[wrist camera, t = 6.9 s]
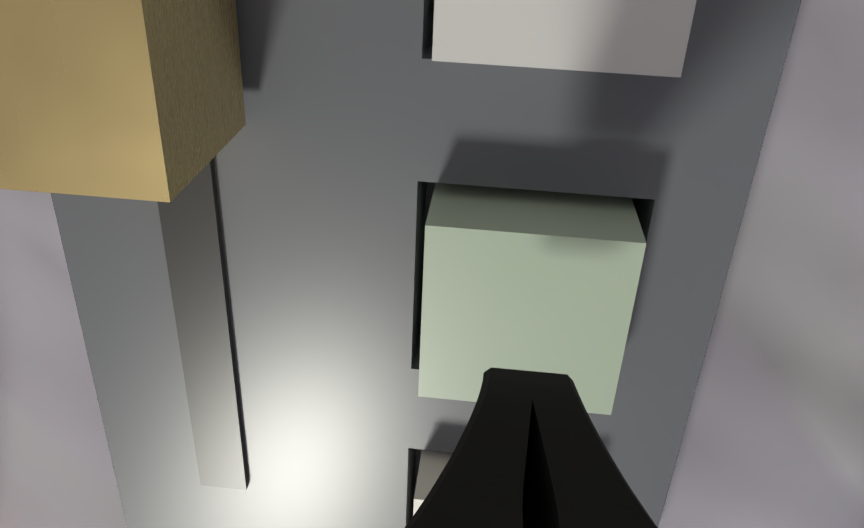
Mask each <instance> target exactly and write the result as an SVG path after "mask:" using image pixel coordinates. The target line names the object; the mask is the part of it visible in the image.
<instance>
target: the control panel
mask: <svg viewBox="0 0 864 528" xmlns="http://www.w3.org/2000/svg"><path fill="white" fill-rule="evenodd" d="M235 1H236V13H237V25H238V37H239V49H240V61H241V73H242V85H243V97H244V109H245V120H246V125H245V126H244V127H243V128H242V129H241V130H240V131H239V132H238V133H237V134H236V135H235V136H234V137H233V138H232V139H231V141H230V142H229V143H228V144H227V145H226V146H225V147H224V148H223V149H222V150H221V151H220V152H219V153H218V154H217V155H216V156H215V157H214V158H213V159H212V160H211V161H210V162H209V163H208V164H207V165H206V166H205V167H204V168H203V169H202V170H201V171H200V172H199V173H198V174H197V175H196V176H195V178H194V179H193V180H192V181H191V182H190V183H189V184H188V185H187V186H186V187H185V188H184V189H183V190H182V191H181V192H180V193H179V194H178V195H177V196H176V197H175V198H174V199H173V200H172V201H171V202H158V201H146V200H133V199H121V198H109V197H97V196H84V195H72V194H60V193H51V196H52V201H53V205H54V209H55V214H56V218H57V222H58V227H59V231H60V236H61V240H62V244H63V249H64V253H65V258H66V262H67V266H68V271H69V275H70V280H71V284H72V288H73V293H74V297H75V301H76V306H77V310H78V315H79V319H80V323H81V328H82V332H83V337H84V341H85V345H86V350H87V354H88V358H89V363H90V367H91V372H92V376H93V380H94V385H95V389H96V394H97V398H98V402H99V407H100V411H101V416H102V420H103V424H104V429H105V433H106V437H107V442H108V446H109V451H110V455H111V459H112V464H113V468H114V473H115V477H116V481H117V486H118V490H119V494H120V499H121V503H122V508H123V512H124V516H125V521H126V525H127V528H405V526H406V525H407V524H408V522H409V521H410V520H411V518H412V517H413V508H414V495H415V489H416V482H417V476H418V470H419V463H420V457H421V451H422V450H432V451H441V452H451V453H453V452H454V450H455V448H456V446H457V444H458V442H459V440H460V438H461V436H462V434H463V432H464V430H465V428H466V426H467V424H468V421H469V419H470V417H471V414H472V412H473V409H474V407H475V405H476V402H471V401H460V400H450V399H440V398H429V397H419V396H418V386H419V362H420V338H421V313H422V289H423V265H424V241H425V224H426V220H427V216H428V211H429V207H430V203H431V199H432V195H433V191H434V187H435V183H447V184H460V185H472V186H485V187H498V188H511V189H524V190H537V191H550V192H562V193H575V194H588V195H601V196H614V197H627V198H632V200H633V204H634V207H635V210H636V213H637V216H638V219H639V222H640V225H641V228H642V231H643V234H644V237H645V240H646V248H645V253H644V258H643V263H642V267H641V272H640V277H639V282H638V287H637V292H636V297H635V301H634V306H633V311H632V316H631V321H630V326H629V331H628V335H627V340H626V345H625V350H624V355H623V360H622V364H621V369H620V374H619V379H618V384H617V389H616V394H615V398H614V403H613V408H612V413H611V415H605V414H595V413H588V415H589V417H590V419H591V421H592V423H593V425H594V427H595V428H596V430H597V432H598V434H599V436H600V438H601V440H602V441H603V443H604V445H605V447H606V449H607V450H608V452H609V454H610V455H611V457H612V459H613V460H614V462H615V464H616V465H617V467H618V469H619V470H620V472H621V474H622V475H623V477H624V479H625V480H626V482H627V483H628V485H629V486H630V488H631V490H632V491H633V493H634V494H635V496H636V497H637V499H638V500H639V501H640V503H641V504H642V506H643V507H644V509H645V510H646V512H647V513H648V515H649V516H650V518H651V519H652V520H653V522H654V523H655V524H656V526H657V527H658V525H659V522H660V518H661V514H662V511H663V507H664V503H665V500H666V496H667V492H668V489H669V485H670V481H671V478H672V474H673V470H674V467H675V463H676V459H677V456H678V452H679V448H680V445H681V441H682V437H683V433H684V430H685V426H686V422H687V419H688V415H689V411H690V408H691V404H692V400H693V397H694V393H695V389H696V386H697V382H698V378H699V375H700V371H701V367H702V364H703V360H704V356H705V353H706V349H707V345H708V342H709V338H710V334H711V331H712V327H713V323H714V320H715V316H716V312H717V309H718V305H719V301H720V298H721V294H722V290H723V287H724V283H725V279H726V276H727V272H728V268H729V265H730V261H731V257H732V254H733V250H734V246H735V242H736V239H737V235H738V231H739V228H740V224H741V220H742V217H743V213H744V209H745V206H746V202H747V198H748V195H749V191H750V187H751V184H752V180H753V176H754V173H755V169H756V165H757V162H758V158H759V154H760V151H761V147H762V143H763V140H764V136H765V132H766V129H767V125H768V121H769V118H770V114H771V110H772V107H773V103H774V99H775V96H776V92H777V88H778V85H779V81H780V77H781V74H782V70H783V66H784V63H785V59H786V55H787V51H788V48H789V44H790V40H791V37H792V33H793V29H794V26H795V22H796V18H797V15H798V11H799V7H800V4H801V0H697V1H696V6H695V11H694V15H693V20H692V25H691V30H690V35H689V40H688V44H687V49H686V54H685V59H684V64H683V69H682V74H681V78H680V77H665V76H650V75H635V74H620V73H605V72H590V71H575V70H560V69H546V68H531V67H516V66H501V65H486V64H471V63H456V62H441V61H432V46H433V22H434V0H235Z"/></svg>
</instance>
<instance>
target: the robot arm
mask: <svg viewBox="0 0 864 528" xmlns="http://www.w3.org/2000/svg"><path fill="white" fill-rule="evenodd" d="M405 528H658V527H657V526H656V524H655V523H654V522H653V520H652V519H651V518H650V516H649V515H648V513H647V512H646V510H645V509H644V507H643V506H642V504H641V503H640V501H639V500H638V499H637V497H636V496H635V494H634V493H633V491H632V490H631V488H630V486H629V485H628V483H627V482H626V480H625V479H624V477H623V475H622V474H621V472H620V470H619V469H618V467H617V465H616V464H615V462H614V460H613V459H612V457H611V455H610V454H609V452H608V450H607V449H606V447H605V445H604V443H603V441H602V440H601V438H600V436H599V434H598V432H597V430H596V428H595V427H594V425H593V423H592V421H591V419H590V417H589V415H588V413H587V411H586V409H585V407H584V405H583V403H582V400H581V398H580V396H579V394H578V391H577V389H576V387H575V384H574V381H573V380H572V379H571V378H570V377H569V376H568V374H557V373H547V372H536V371H525V370H514V369H503V368H492V367H491V368H490V369H488V370H487V371H485V372H484V374H483V381H482V386H481V389H480V393H479V396H478V399H477V402H476V405H475V407H474V409H473V412H472V414H471V417H470V419H469V421H468V424H467V426H466V428H465V430H464V432H463V434H462V436H461V438H460V440H459V442H458V444H457V446H456V448H455V450H454V452H453V454H452V455H451V457H450V459H449V461H448V462H447V464H446V466H445V467H444V469H443V471H442V472H441V474H440V476H439V477H438V479H437V481H436V482H435V484H434V486H433V487H432V489H431V490H430V492H429V494H428V495H427V497H426V498H425V500H424V501H423V503H422V504H421V506H420V507H419V508H418V510H417V511H416V513H415V514H414V516H413V517H412V518H411V520H410V521H409V522H408V524H407V525H406V526H405Z"/></svg>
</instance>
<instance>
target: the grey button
mask: <svg viewBox="0 0 864 528" xmlns="http://www.w3.org/2000/svg"><path fill="white" fill-rule="evenodd" d="M696 1H697V0H434V22H433V46H432V61H441V62H456V63H471V64H486V65H501V66H516V67H531V68H546V69H560V70H575V71H590V72H605V73H620V74H635V75H650V76H665V77H680V78H681V74H682V69H683V64H684V59H685V54H686V49H687V44H688V40H689V35H690V30H691V25H692V20H693V15H694V11H695V6H696Z"/></svg>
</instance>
